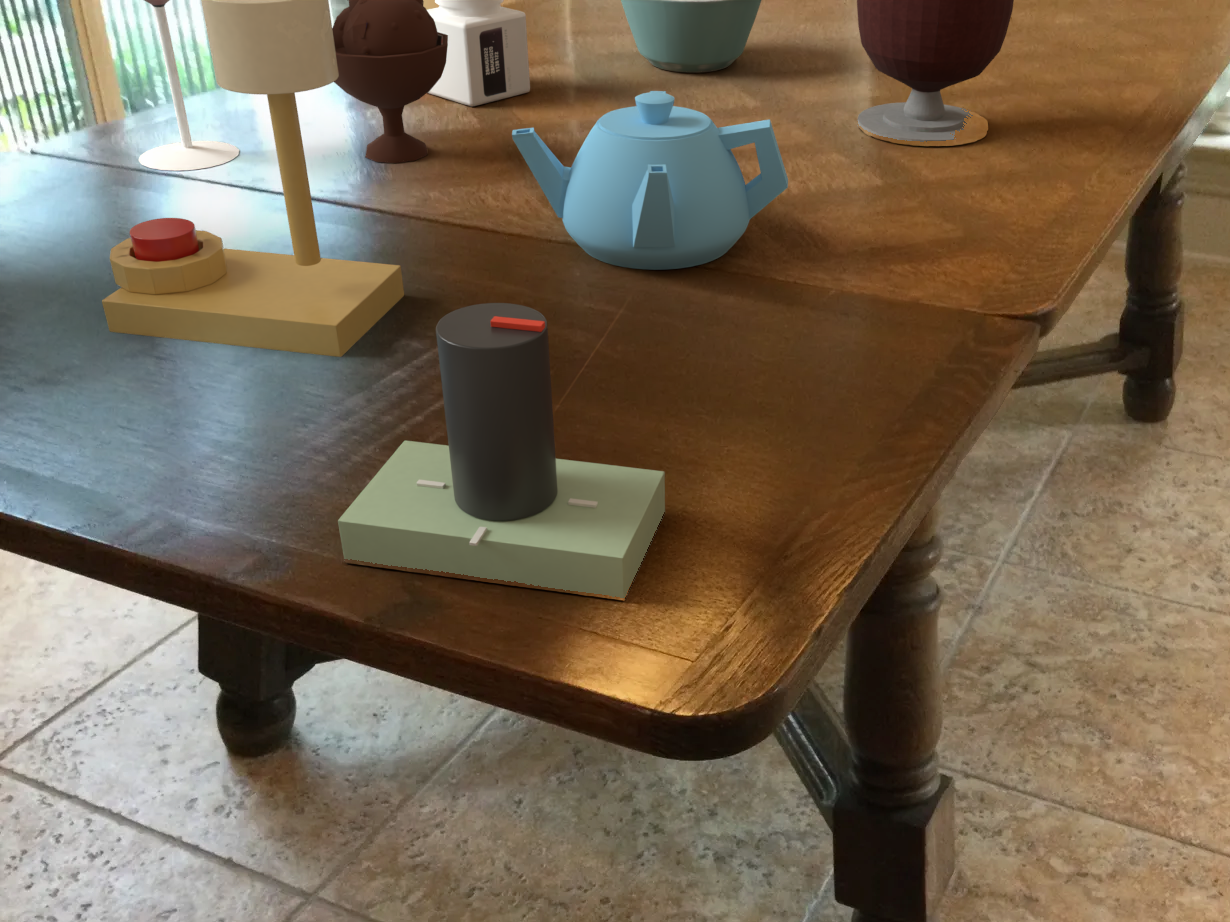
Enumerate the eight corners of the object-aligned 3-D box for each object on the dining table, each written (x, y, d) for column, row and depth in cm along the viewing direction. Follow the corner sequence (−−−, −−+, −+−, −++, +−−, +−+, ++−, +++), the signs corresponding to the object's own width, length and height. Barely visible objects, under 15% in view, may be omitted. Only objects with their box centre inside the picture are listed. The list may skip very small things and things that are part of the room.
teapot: (651, 299, 92) (649, 142, 86) (511, 241, 101) (501, 95, 95) (797, 242, 101) (804, 97, 95) (658, 194, 110) (657, 58, 104)
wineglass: (216, 133, 122) (164, -137, 110) (260, 159, 116) (211, -123, 104) (118, 150, 117) (53, -129, 105) (159, 179, 111) (95, -114, 99)
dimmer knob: (438, 514, 64) (417, 335, 59) (475, 463, 68) (458, 291, 63) (539, 527, 63) (526, 347, 58) (570, 474, 67) (561, 301, 62)
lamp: (230, 277, 84) (175, -2, 75) (283, 237, 90) (238, -26, 81) (334, 287, 83) (291, 6, 74) (381, 247, 89) (347, -19, 80)
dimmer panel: (339, 570, 65) (331, 524, 63) (414, 475, 72) (408, 431, 71) (620, 609, 62) (619, 562, 61) (668, 506, 70) (667, 462, 68)
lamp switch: (122, 262, 87) (116, 236, 86) (156, 240, 90) (151, 215, 89) (179, 267, 86) (173, 241, 85) (211, 245, 90) (206, 220, 89)
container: (532, 92, 135) (523, -47, 127) (471, 108, 130) (459, -36, 123) (482, 78, 139) (471, -58, 132) (421, 92, 134) (406, -48, 127)
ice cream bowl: (318, 144, 120) (291, -37, 111) (439, 129, 124) (422, -46, 116) (348, 179, 112) (322, -12, 104) (477, 162, 116) (461, -23, 108)
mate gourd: (904, 158, 119) (926, -90, 108) (820, 117, 129) (833, -113, 118) (1041, 135, 125) (1076, -101, 114) (951, 98, 135) (975, -122, 124)
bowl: (738, 88, 137) (740, 2, 132) (595, 73, 141) (592, -10, 136) (780, 52, 150) (783, -27, 145) (647, 39, 153) (646, -38, 149)
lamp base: (88, 330, 87) (73, 271, 85) (172, 272, 95) (160, 217, 93) (341, 357, 84) (331, 297, 82) (404, 295, 92) (397, 239, 90)
